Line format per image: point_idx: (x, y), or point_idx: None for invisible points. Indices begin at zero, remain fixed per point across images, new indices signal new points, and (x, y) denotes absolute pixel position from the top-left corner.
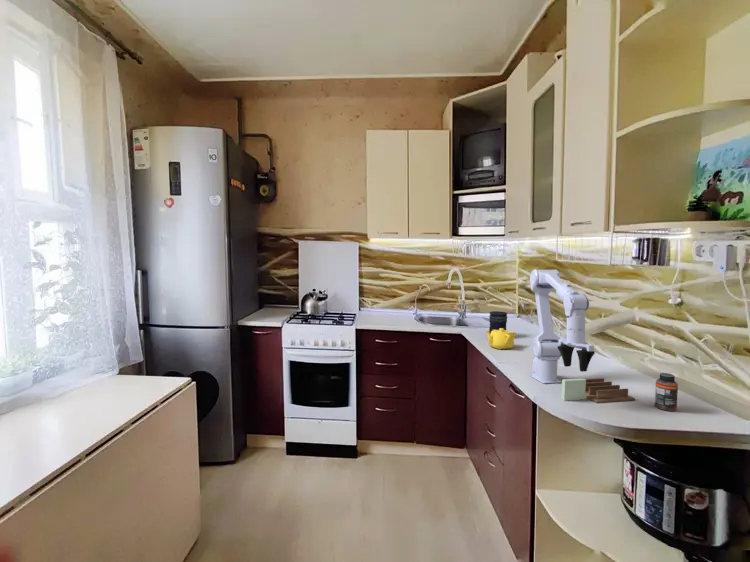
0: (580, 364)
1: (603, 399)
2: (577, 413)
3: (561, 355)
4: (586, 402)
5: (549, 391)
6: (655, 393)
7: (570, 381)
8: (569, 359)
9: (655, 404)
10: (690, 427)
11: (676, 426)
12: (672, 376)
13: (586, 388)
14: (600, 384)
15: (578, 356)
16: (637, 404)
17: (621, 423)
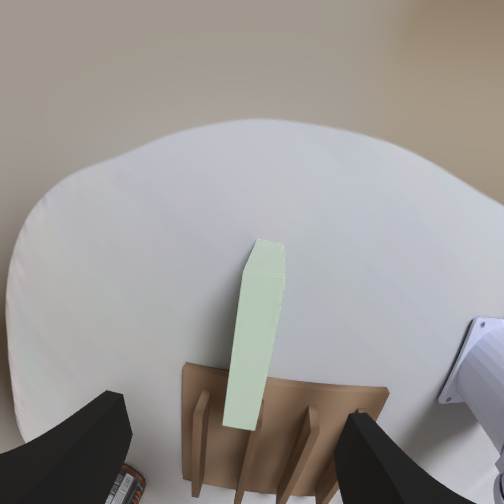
0: (69, 428)
1: (190, 402)
2: (106, 176)
3: (439, 482)
4: (204, 330)
5: (398, 269)
6: (118, 494)
7: (237, 318)
8: (353, 499)
9: (126, 470)
10: (24, 402)
11: (23, 384)
12: None
13: (303, 428)
14: (286, 480)
15: (22, 490)
16: (154, 454)
17: (25, 270)
